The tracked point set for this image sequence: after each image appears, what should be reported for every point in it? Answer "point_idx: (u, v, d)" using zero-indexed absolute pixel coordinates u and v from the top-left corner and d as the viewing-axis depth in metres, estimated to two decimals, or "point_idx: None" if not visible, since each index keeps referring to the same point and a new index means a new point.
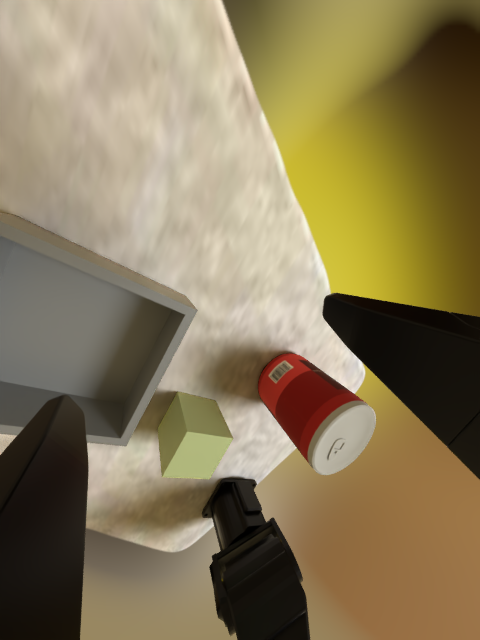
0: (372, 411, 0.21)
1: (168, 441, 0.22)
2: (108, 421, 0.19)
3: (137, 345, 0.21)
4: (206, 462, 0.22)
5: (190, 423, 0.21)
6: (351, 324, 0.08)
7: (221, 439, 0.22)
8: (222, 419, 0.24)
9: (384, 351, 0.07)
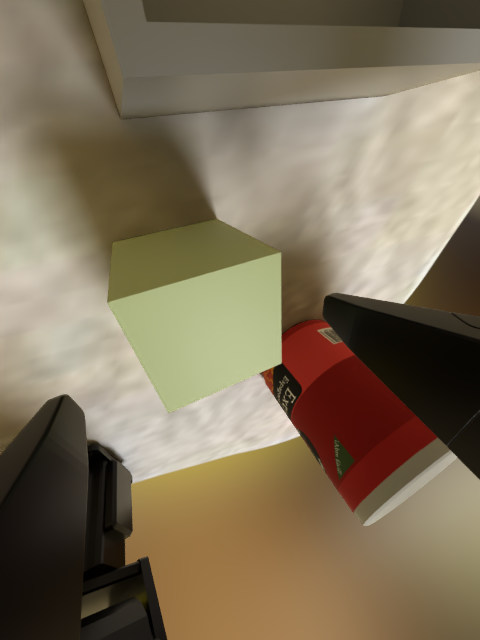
0: None
1: (167, 257, 0.08)
2: None
3: (293, 24, 0.08)
4: (209, 370, 0.08)
5: None
6: (351, 324, 0.08)
7: (274, 345, 0.09)
8: None
9: (384, 351, 0.07)
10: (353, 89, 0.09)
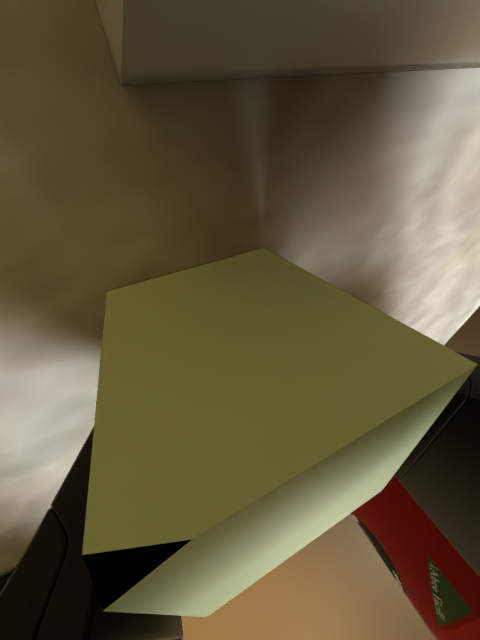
0: None
1: (213, 352, 0.04)
2: None
3: None
4: (284, 549, 0.04)
5: None
6: None
7: (385, 478, 0.05)
8: None
9: None
10: None
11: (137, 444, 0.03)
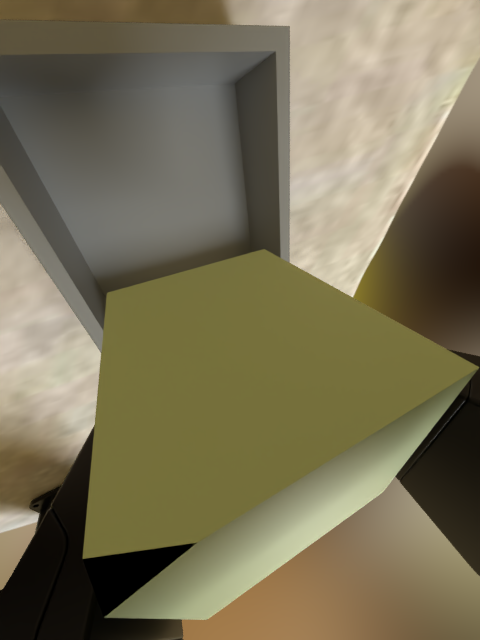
0: None
1: (213, 355, 0.04)
2: None
3: None
4: (285, 553, 0.04)
5: None
6: None
7: (386, 481, 0.05)
8: None
9: None
10: None
11: (137, 448, 0.03)
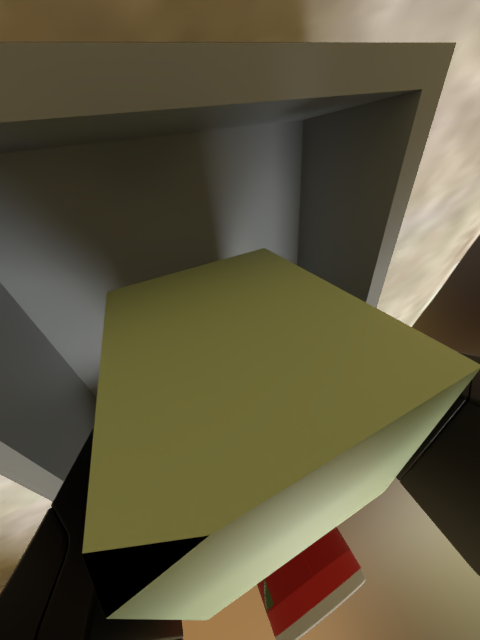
0: None
1: (214, 353, 0.04)
2: None
3: None
4: (286, 552, 0.04)
5: None
6: None
7: (387, 480, 0.05)
8: None
9: None
10: None
11: (137, 447, 0.03)
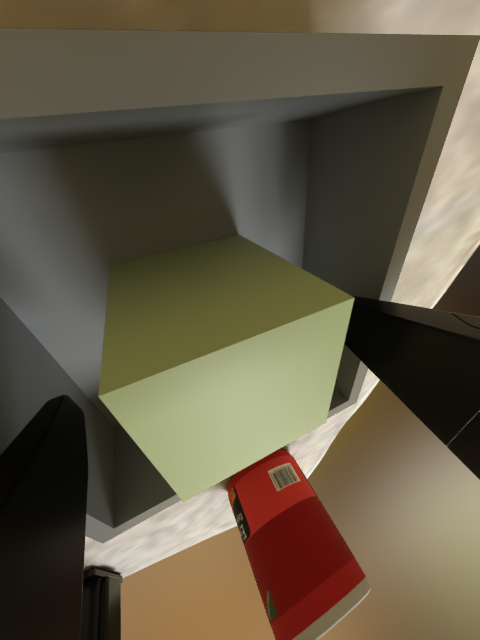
0: None
1: (185, 297, 0.06)
2: (102, 471, 0.09)
3: None
4: (240, 448, 0.06)
5: None
6: (351, 324, 0.08)
7: (322, 406, 0.07)
8: None
9: (384, 351, 0.07)
10: None
11: (131, 341, 0.04)
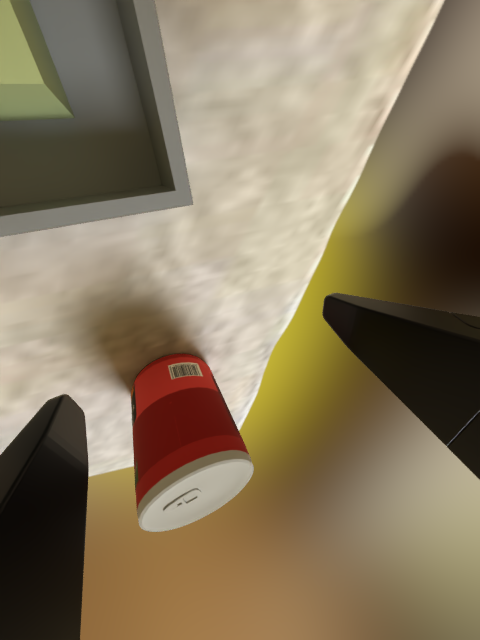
0: (250, 476, 0.17)
1: None
2: None
3: (50, 168, 0.12)
4: None
5: None
6: (351, 324, 0.08)
7: (2, 15, 0.06)
8: (57, 93, 0.08)
9: (384, 351, 0.07)
10: None
11: None
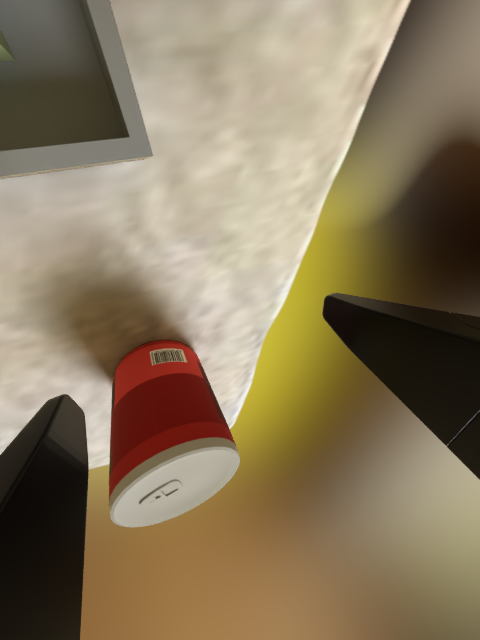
0: (237, 466, 0.16)
1: None
2: None
3: None
4: None
5: None
6: (351, 324, 0.08)
7: None
8: None
9: (384, 351, 0.07)
10: (54, 170, 0.11)
11: None
